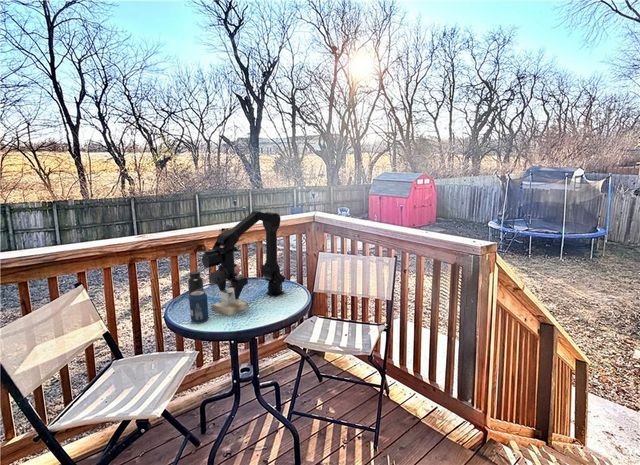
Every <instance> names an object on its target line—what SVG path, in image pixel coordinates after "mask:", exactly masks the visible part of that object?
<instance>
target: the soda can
mask: <svg viewBox="0 0 640 465" xmlns="http://www.w3.org/2000/svg"><path fill="white" fill-rule="evenodd" d="M188 302H189V314H190V320H191V321H192V323H194V324H202V323H205V322H207V321H208V319H209V315H210V314H209V307H208V306H209V305H208V304H209V303H208V294H207V293H206V291H205V290H204V291H203V290H196V291H193V292H191V293H190V297H189V296H188Z"/></svg>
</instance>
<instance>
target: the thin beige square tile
mask: <svg viewBox="0 0 640 465" xmlns="http://www.w3.org/2000/svg"><path fill="white" fill-rule="evenodd" d="M211 307H212V311H214V312H217V313H219V314H222V315H225V316H228V317H230V316H233V315H235V314H237V313H240V312H242V311H245V310H246V309H249V308H250V306H249V301H246V300H243V299H242V300H241V299H240V298H239V303H237V304H234V305H232V306H229V307H227V306H224V305H222V304H221V300H220V301H218V302H215V303H212V304H211Z"/></svg>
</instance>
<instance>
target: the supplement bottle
mask: <svg viewBox="0 0 640 465" xmlns="http://www.w3.org/2000/svg"><path fill="white" fill-rule="evenodd" d="M187 289H188V298H189V297H190V293H191V292H193V291H196V290H203V291H205V290H204V289H205V288H204V279H203V277H202V276H201V271H197V270H194V271H190V272H189V278H188V280H187Z"/></svg>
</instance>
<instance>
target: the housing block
mask: <svg viewBox="0 0 640 465" xmlns="http://www.w3.org/2000/svg"><path fill="white" fill-rule="evenodd" d="M239 299H240V297H239V298H238V299H237V300H236V299H235V293H234V288H232V287H229V288H225V290H223V291H220V301H221V304H222V305H224V306H227V307H229V306H232V305H234V304H237V303H239Z"/></svg>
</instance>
